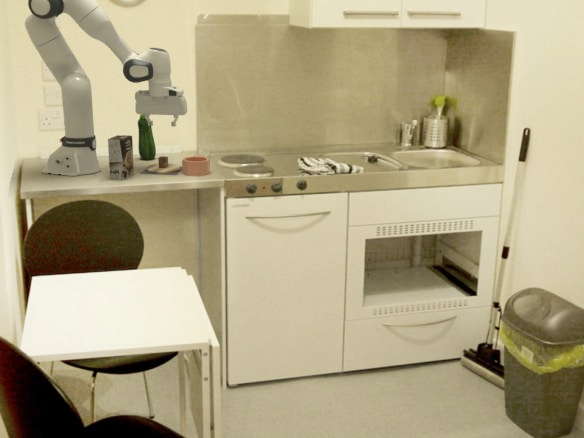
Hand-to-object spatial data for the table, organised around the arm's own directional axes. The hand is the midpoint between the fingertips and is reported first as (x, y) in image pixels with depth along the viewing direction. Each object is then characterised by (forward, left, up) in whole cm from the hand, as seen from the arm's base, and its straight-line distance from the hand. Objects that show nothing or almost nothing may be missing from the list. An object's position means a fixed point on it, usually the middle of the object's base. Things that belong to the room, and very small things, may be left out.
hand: (162, 126), depth 295 cm
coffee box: (-12, -14, -19) cm, 26 cm away
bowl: (+14, -2, -18) cm, 23 cm away
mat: (0, 0, -18) cm, 18 cm away
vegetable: (-13, +19, -19) cm, 30 cm away
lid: (0, 0, -18) cm, 18 cm away
